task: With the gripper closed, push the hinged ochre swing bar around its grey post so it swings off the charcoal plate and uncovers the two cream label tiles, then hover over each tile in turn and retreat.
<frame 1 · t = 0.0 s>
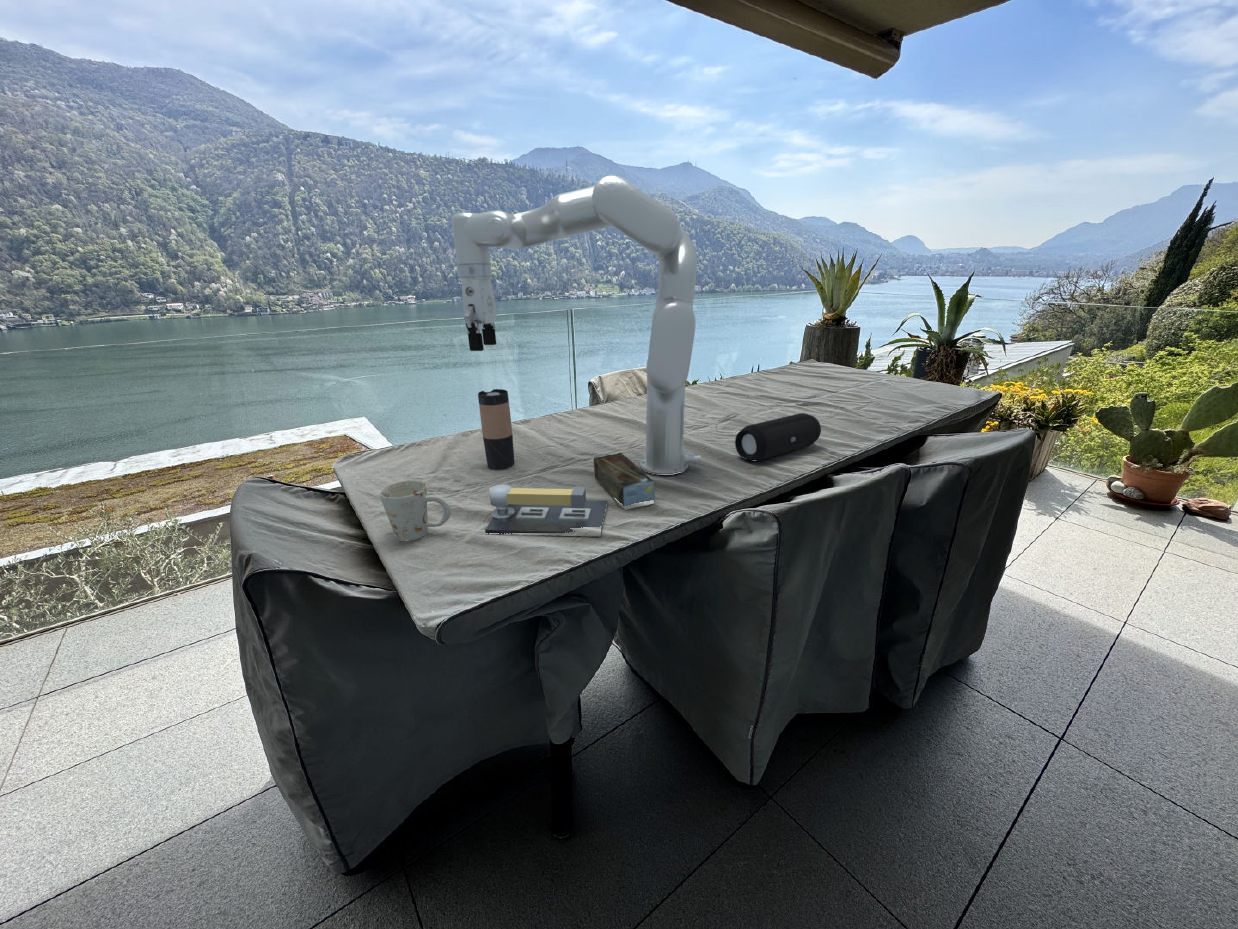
hand: (483, 347, 118), 31 cm above the table, tool pointing down, fingers open, 9 cm apart
portable speaker: (776, 453, 135), on the table
chassis: (549, 518, 101), on the table
travel mug: (501, 465, 129), on the table
mug: (423, 534, 96), on the table
beverage carton: (622, 492, 113), on the table
swing arm: (537, 496, 99), point 5 cm above the table, hinge at 0.0°
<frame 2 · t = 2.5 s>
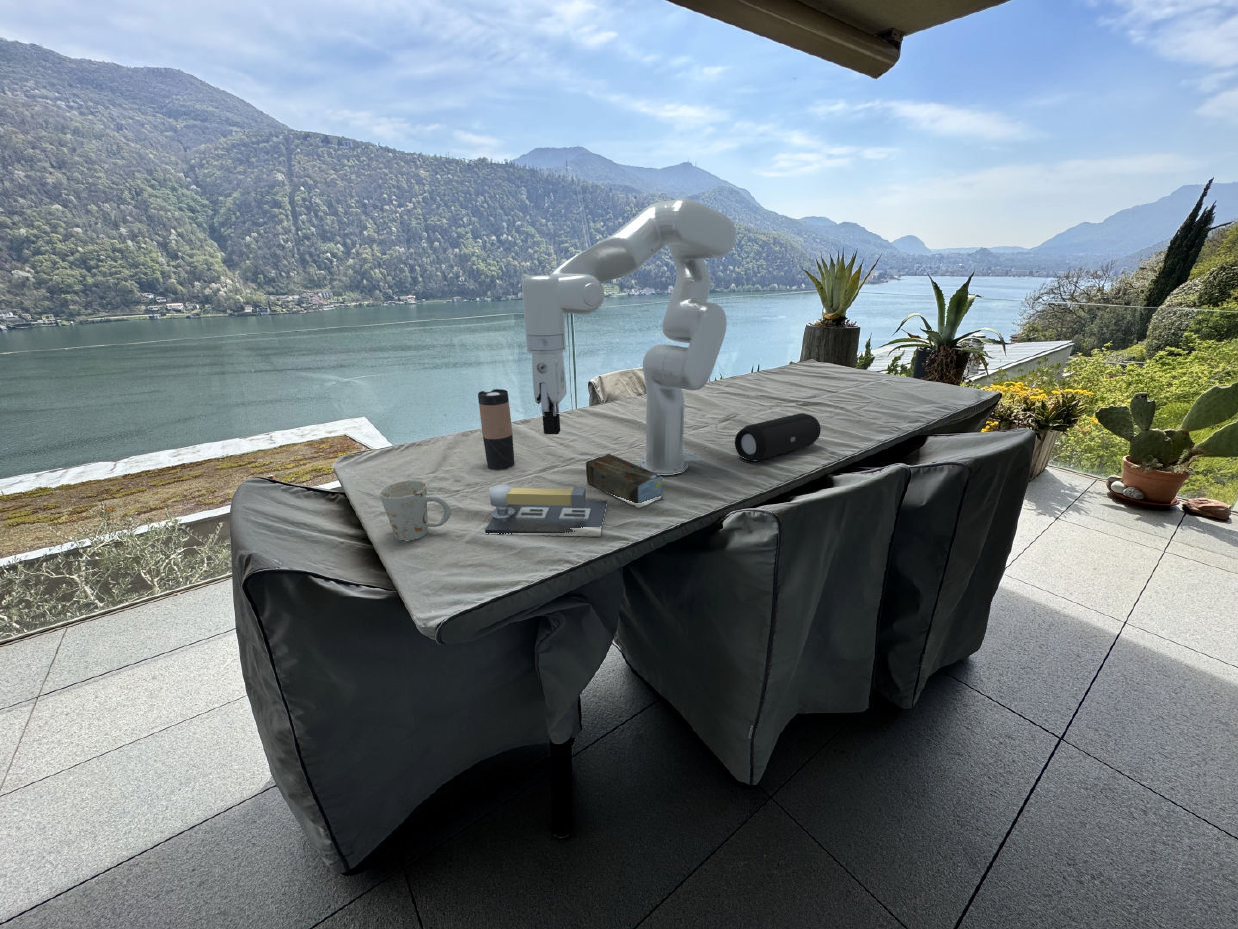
hand: (552, 432, 100), 17 cm above the table, tool pointing down, fingers closed
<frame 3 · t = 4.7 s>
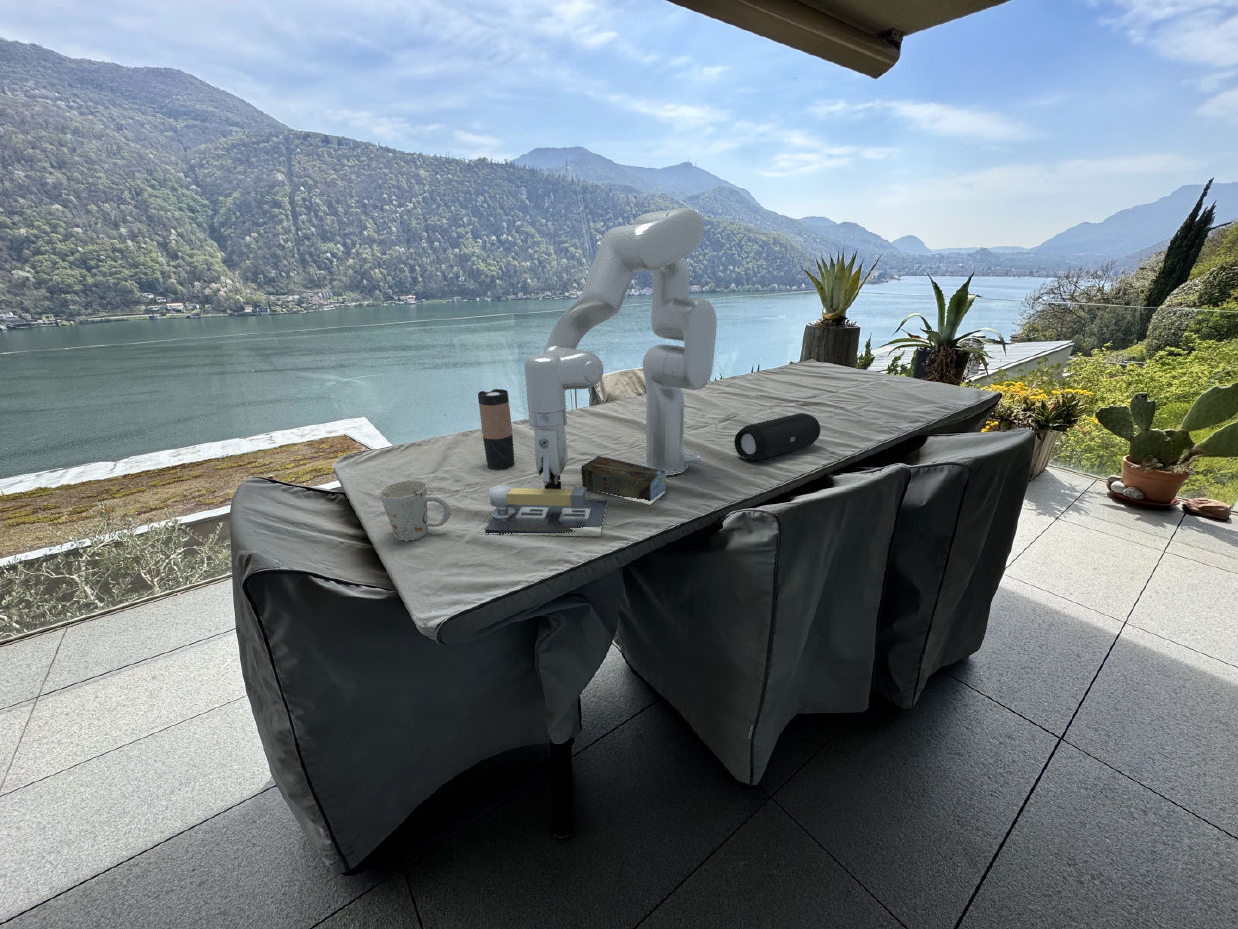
hand: (553, 499, 103), 3 cm above the table, tool pointing down, fingers closed
swing arm: (536, 496, 99), point 5 cm above the table, hinge at 0.5°, touching gripper
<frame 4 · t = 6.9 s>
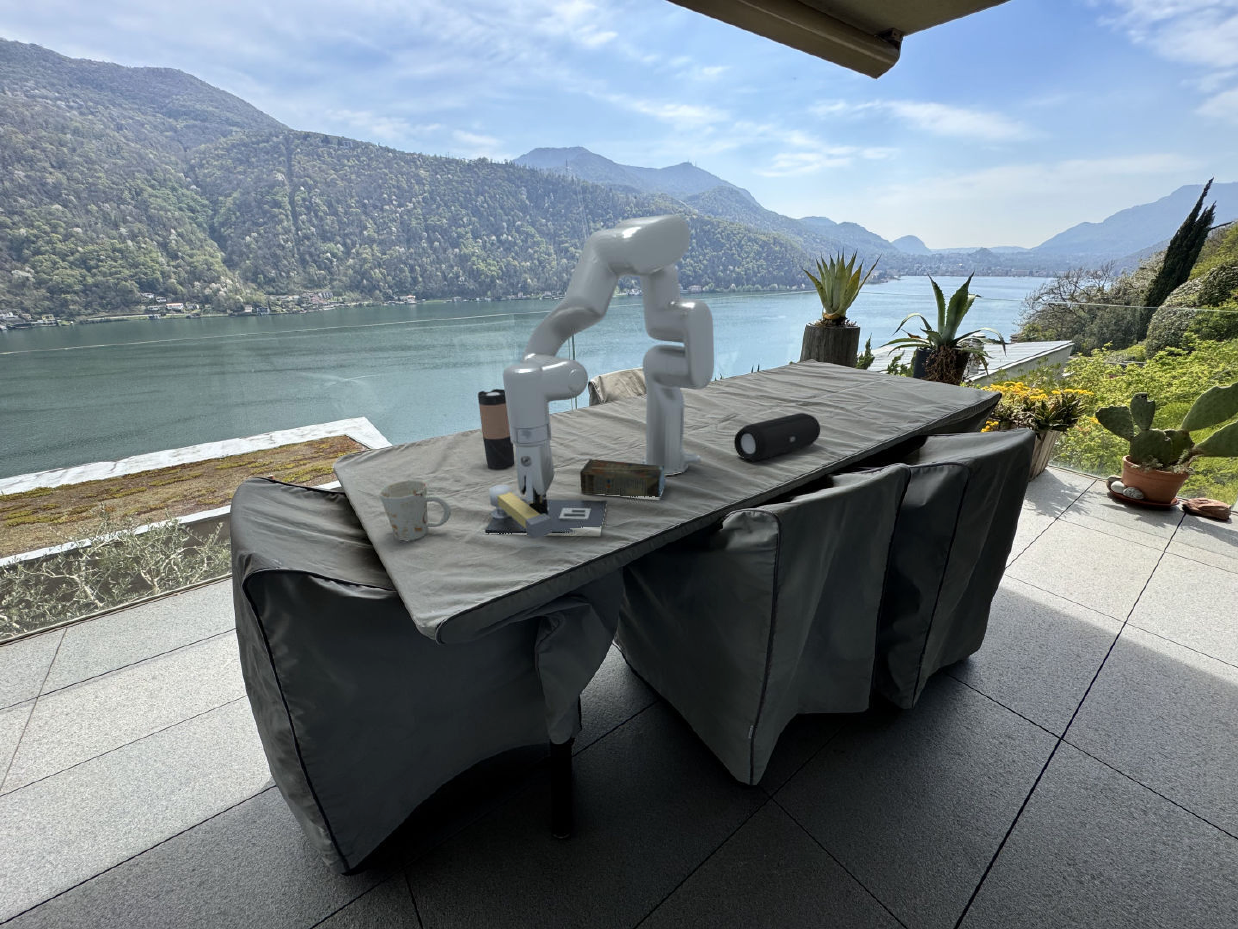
hand: (539, 518, 96), 2 cm above the table, tool pointing down, fingers closed
swing arm: (517, 508, 94), point 5 cm above the table, hinge at 48.3°, touching gripper
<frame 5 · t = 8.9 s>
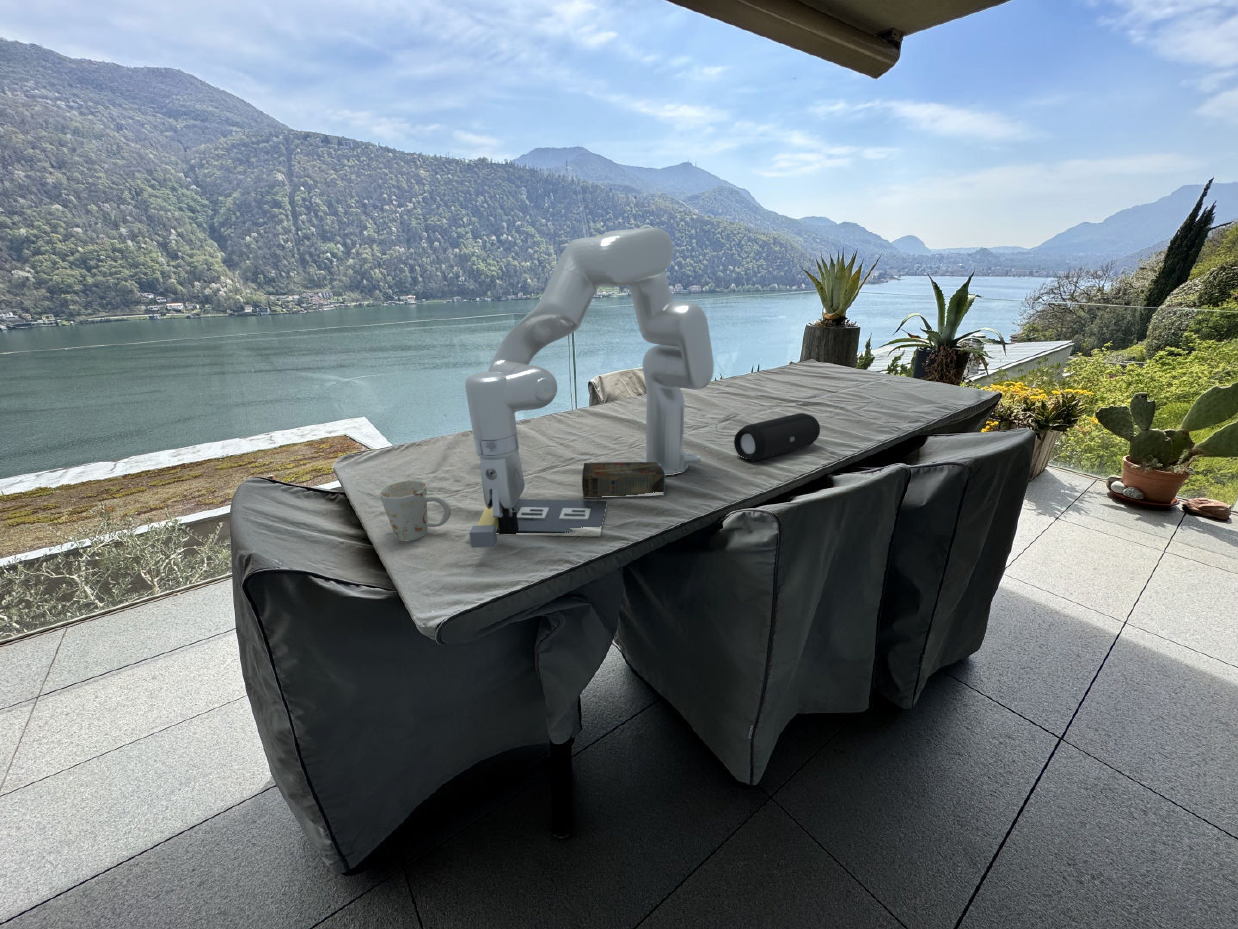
hand: (509, 531, 92), 2 cm above the table, tool pointing down, fingers closed
swing arm: (493, 512, 92), point 5 cm above the table, hinge at 83.3°, touching gripper
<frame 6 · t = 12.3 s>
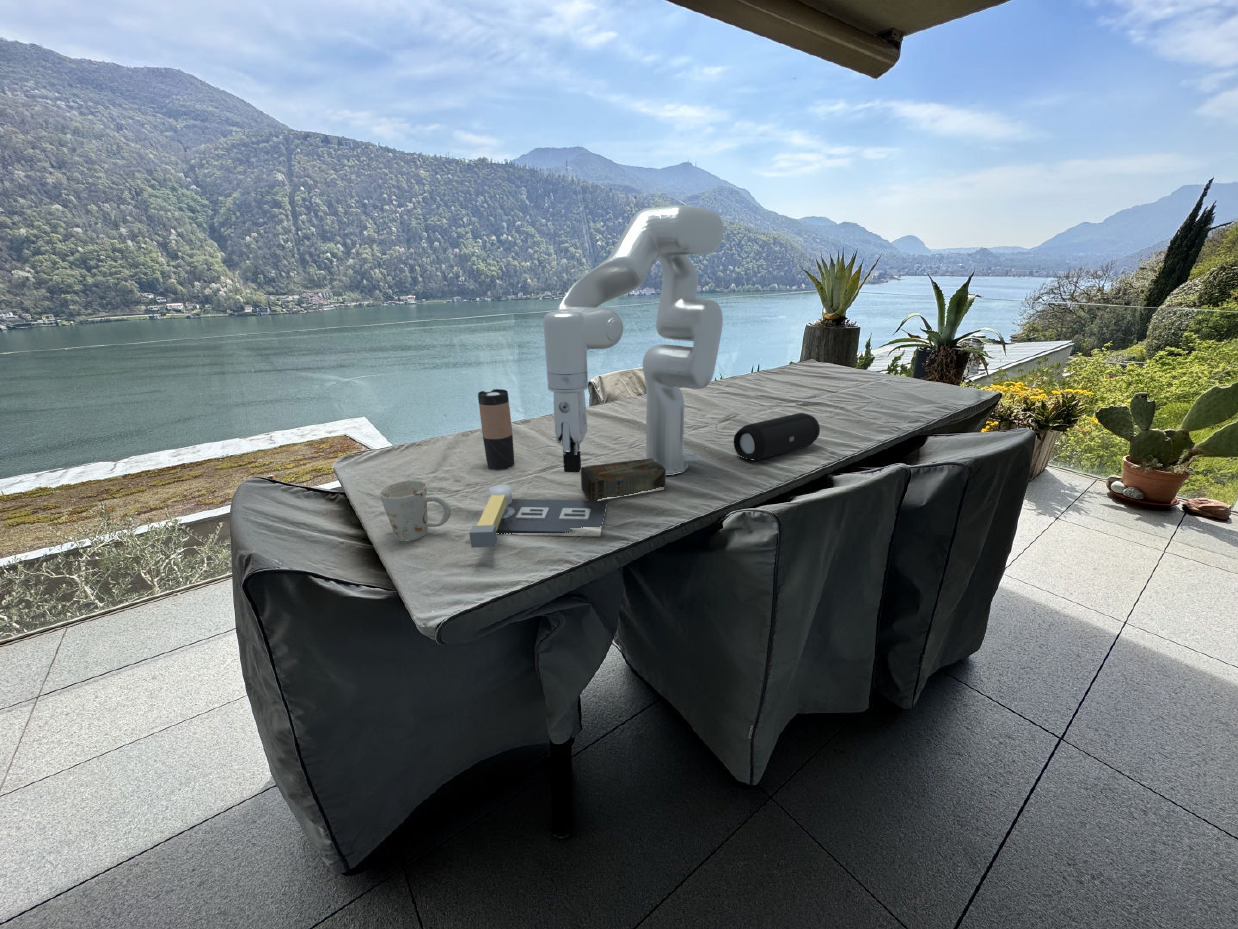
hand: (572, 470, 96), 11 cm above the table, tool pointing down, fingers closed
swing arm: (493, 512, 92), point 5 cm above the table, hinge at 83.3°
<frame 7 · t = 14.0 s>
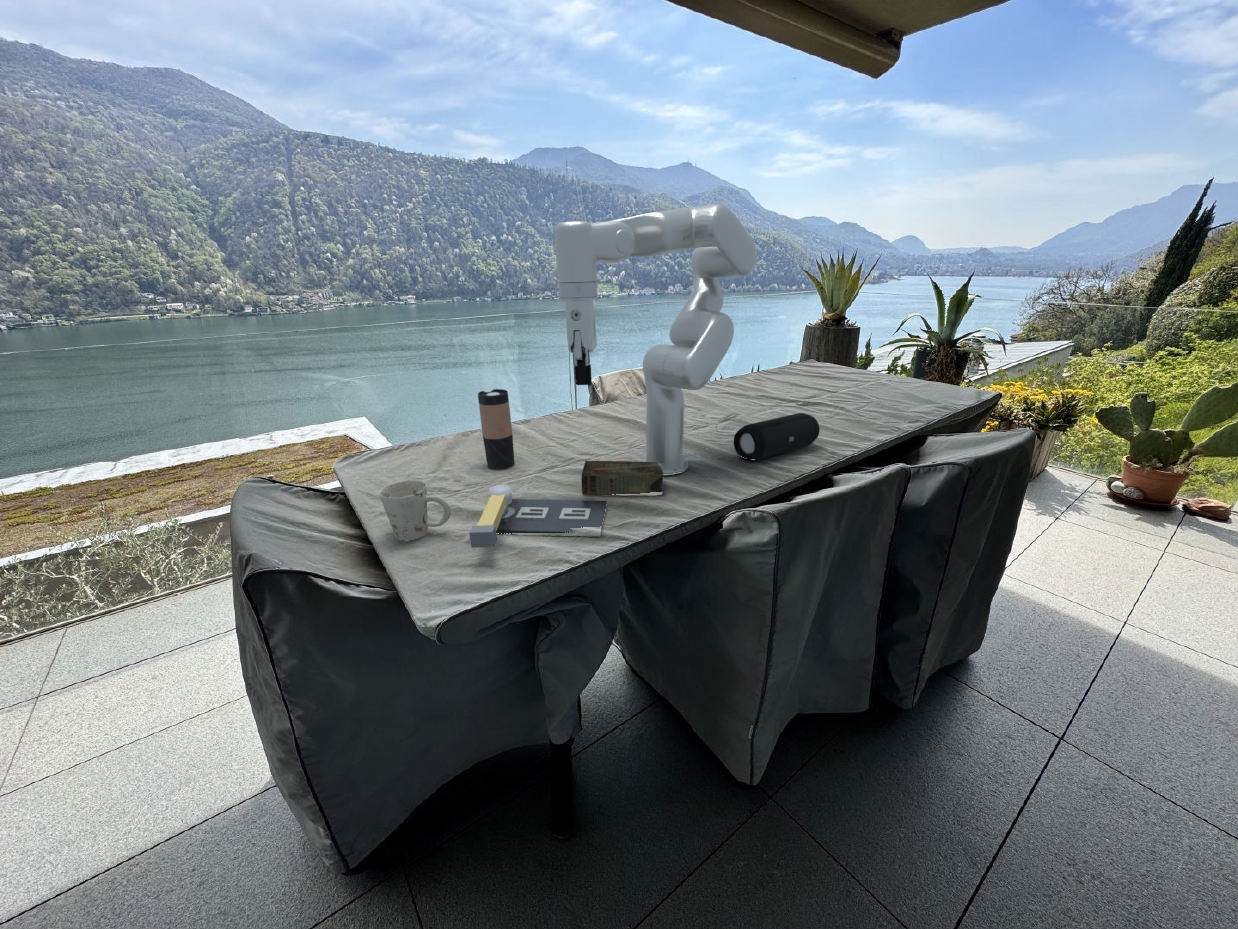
hand: (583, 383, 101), 26 cm above the table, tool pointing down, fingers closed
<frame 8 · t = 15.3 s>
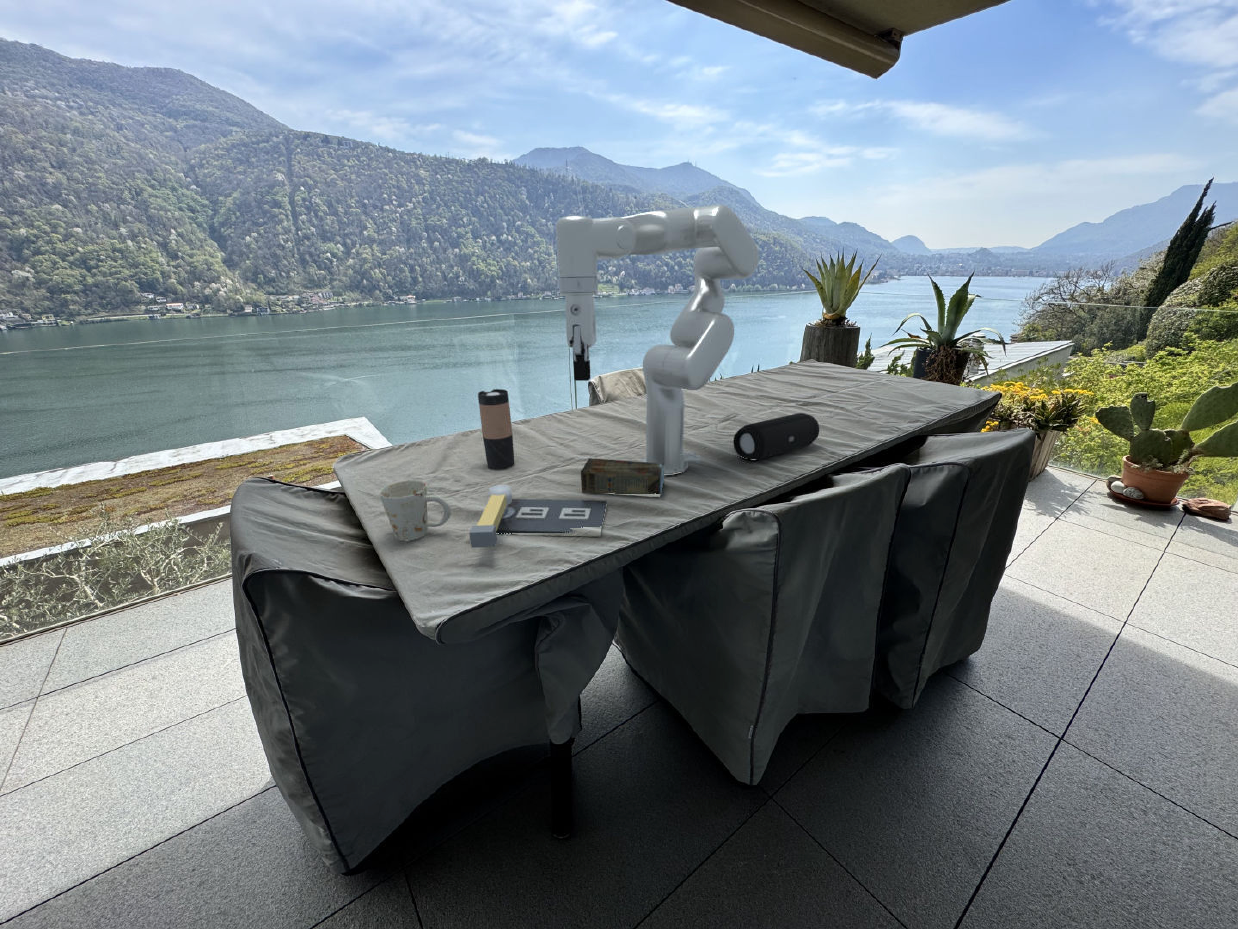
hand: (582, 379, 101), 27 cm above the table, tool pointing down, fingers closed
at the end: swing arm at +83° (first picture: +0°) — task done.
